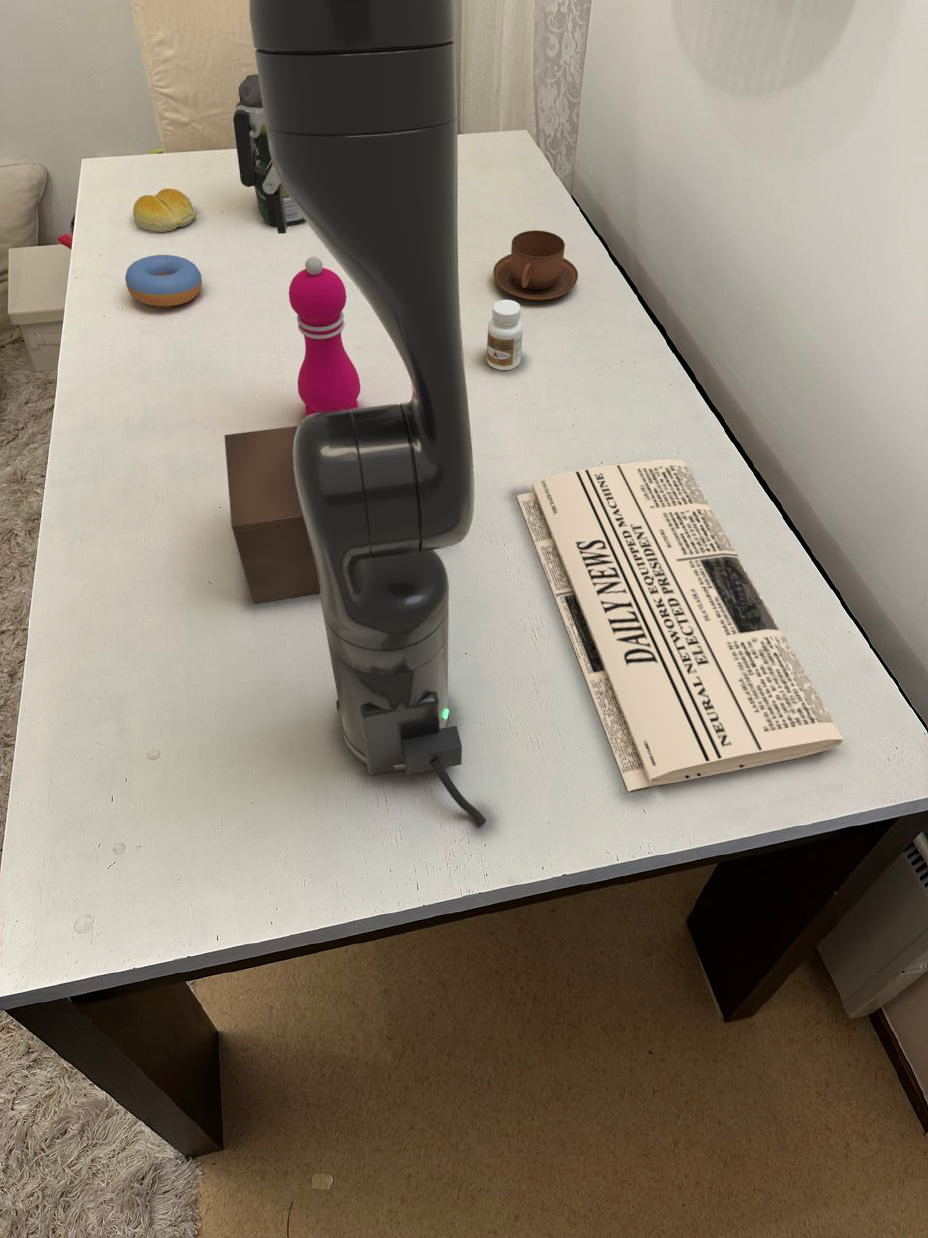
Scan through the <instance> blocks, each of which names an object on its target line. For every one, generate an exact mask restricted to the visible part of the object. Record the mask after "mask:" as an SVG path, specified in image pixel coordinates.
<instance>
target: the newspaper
mask: <svg viewBox="0 0 928 1238" xmlns="http://www.w3.org/2000/svg"><path fill="white" fill-rule="evenodd" d="M532 490H533V492H532V491H531V492H527V493H526V492H525V493H521V494H518V495H516V498H517V501H518V502H519V506H520V509H521V511H522V514H523V516H524V519H525V522H526V525H527V527H528V530H529V532H530V535H531V537H532V541H533V543H534V546H535V548H536V549H535V550H536V551H537V554H538V557H539V559H540V561H541V564H542V567H543V570H544V572H545V575H546V578H547V580H548V583H549V585H550V589H551V591H552V594H553V596H554V599H555V601H556V605H557V607H558V610H559V612H560V615H561V618H562V620H563V623H564V625H565V629H566V630H567V633H568V636H569V639H570V641H571V644H572V647H573V649H574V651H575V655H576V657H577V660H578V662H579V665H580V668H581V670H582V673H583V676H584V678H585V682H586V684H587V686H588V689H589V691H590V694H591V697H592V700H593V702H594V705H595V707H596V711H597V713H598V715H599V718H600V720H601V723H602V726H603V729H604V731H605V733H606V736H607V740H608V741H609V745H610V747H611V750H612V752H613V756H614V758H615V760H616V763H617V766H618V769H619V772H620V774H621V776H622V779H623V781H624V784H625V787H626V790H627V792H628V793H629V792H631V791H635V790H639V789H643V788H648V787H653V786H662V785H668V784H674V783H680V782H685V781H690V780H694V779H701V778H704V777H709V776H715V775H719V774H725V773H730V772H734V771H739V770H745V769H750V768H755V767H760V766H764V765H765V766H766V765H769V764H774V763H778V762H779V763H780V762H783V761H784V762H785V761H789V760H794V759H795V760H796V759H799V758H803V757H806V756H810V755H814V754H818V753H822V752H825V751H829V750H832V749H834V748H836V747H839V746H840V745H842V743H843V741H844V737H843V736H842V734H841V732H840V731H839V729H838V727H837V726H836V724H835V722H834V720H833V718H832V716H831V715H830V713H829V711H828V710H827V708H826V706H825V704H824V703H823V701H822V698H820V696H819V693H817V690H816V689H815V687H814V685H813V684H812V682H811V680H810V679H809V677H808V675H807V673H806V672H805V670H804V668H803V666H802V664H801V663H800V660H799V659H798V658H797V655H796V654H795V652H794V650H793V649H792V647H791V645H790V643H789V642H788V640H787V639H786V636H785V635H784V633H783V632H782V630H781V628H780V626H779V625H778V622H777V621H776V619H775V617H774V616H773V614H772V613H771V611H770V609H769V607H768V605H767V604H766V602H765V600H764V598H763V597H762V595H761V594H760V591H759V590H758V588H757V586H756V584H755V583H754V581H753V579H752V577H751V576H750V574H749V572H748V570H747V569H746V567H745V565H744V564H743V562H742V560H741V559H740V556H739V555H738V553H737V551H736V550H735V548H734V546H733V544H732V543H731V540H730V539H729V538H728V536H727V534H726V532H725V531H724V529H723V527H722V526H721V524H720V522H719V520H718V518H717V517H716V515H715V513H714V512H713V510H712V508H711V506H710V505H709V503H708V502H707V500H706V498H705V496H704V494H703V493H702V491H701V489H700V487H699V486H698V483H697V482H696V481H695V478H694V477H693V475H692V473H691V472H690V470H689V468H688V466H687V465H686V463H685V461H684V460H681V459H676V458H675V459H674V458H666V459H665V458H664V459H655V460H645V461H636V462H625V463H617V464H607V465H601V466H596V467H589V468H584V469H579V470H574V471H570V472H569V471H567V472H563V473H558V474H550V475H548V476H546V477H544V478H542V479H539V480H537V481H536V482H533V483H532Z"/></svg>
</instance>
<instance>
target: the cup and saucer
mask: <svg viewBox="0 0 928 1238" xmlns="http://www.w3.org/2000/svg"><path fill="white" fill-rule="evenodd" d="M510 248H511V249H510V254H507V255H505V256H504V257H502V258H500V259H499V260H498V261H497V262H496V263H495V264H494V267H493V270H492V271H493V273H492V274H493V278H494V281H495V283H496V284H497V285H498V286H499V287H500V288H501V289H502V290H503V291H505V292H506V293H508V294H510V295H511V296H514V297H517V298H521V299H524V300H529V301H530V300H531V301H544V300H551V299H552V300H553V299H556V298H558V297H561V296H563V295H565V294H567V293H569V292H570V291H571V290H572V289H573V288H574V287H575V286H576V284H577V282H578V280H579V272H578V270H577V268H576V266H575V265H574V264H573V263H572V262H571V261H570V260H568V259H566V258H565V257H564V255H565V248H566V244H565V241H564V239H563V238H562V237H560V236H559V235H558V234H556V233H553V232H550V231H547V230H535V229H534V230H526V231H523V232H520V233H518V234H516V235H515V236H514V237H513V238H512V239H511V247H510Z"/></svg>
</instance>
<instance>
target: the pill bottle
mask: <svg viewBox="0 0 928 1238" xmlns="http://www.w3.org/2000/svg"><path fill="white" fill-rule="evenodd" d="M521 310H522V309H521V305H520V304H519V303H518V302H517V301H515V300H511V299H501V300H498V301H495V302H494V303H493V305H492V310H491V311H492V313H491V315H492V318H491V319H490V320H489V323H488V325H487V340H486V362H487V364H488V365H489V366H490V367H492V368H493V369H496V370H498V371H499V370H500V371H511V370H513V369H514V370H515V368H517V367H518V366H519V365H520V363H521V358H522V357H521V356H522V344H523V335H524V334H523V333H524V325H523V322H522V321H521V314H522V313H521Z"/></svg>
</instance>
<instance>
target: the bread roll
mask: <svg viewBox="0 0 928 1238" xmlns="http://www.w3.org/2000/svg"><path fill="white" fill-rule="evenodd" d="M132 208H133V209H132V216H133V220H134V222H135V223H136V224H137V226H139V227H140V228H141V229H143V230H147V231H152V232H159V233H165V232H171V231H175V229H177V228H178V227H180V228H182V227H186V226H188V225H189V224H191V223H192V222H193V221H194V220H195V218H196V216H197V215H196V214H197V212H196V211H195V210H194V207H193V204H192V201H191V200H190V198H189V197H188V196H187V195H186V194H185V193H183V192H182V191H181V190H178V189H175V188H163V189H161V190H159V191H158V192H157V194H155V195H151V194H150V195H149V194H145V195H141V196H140V197H138V199H137V200H136V201H135V203H134V204H133V207H132Z"/></svg>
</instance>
